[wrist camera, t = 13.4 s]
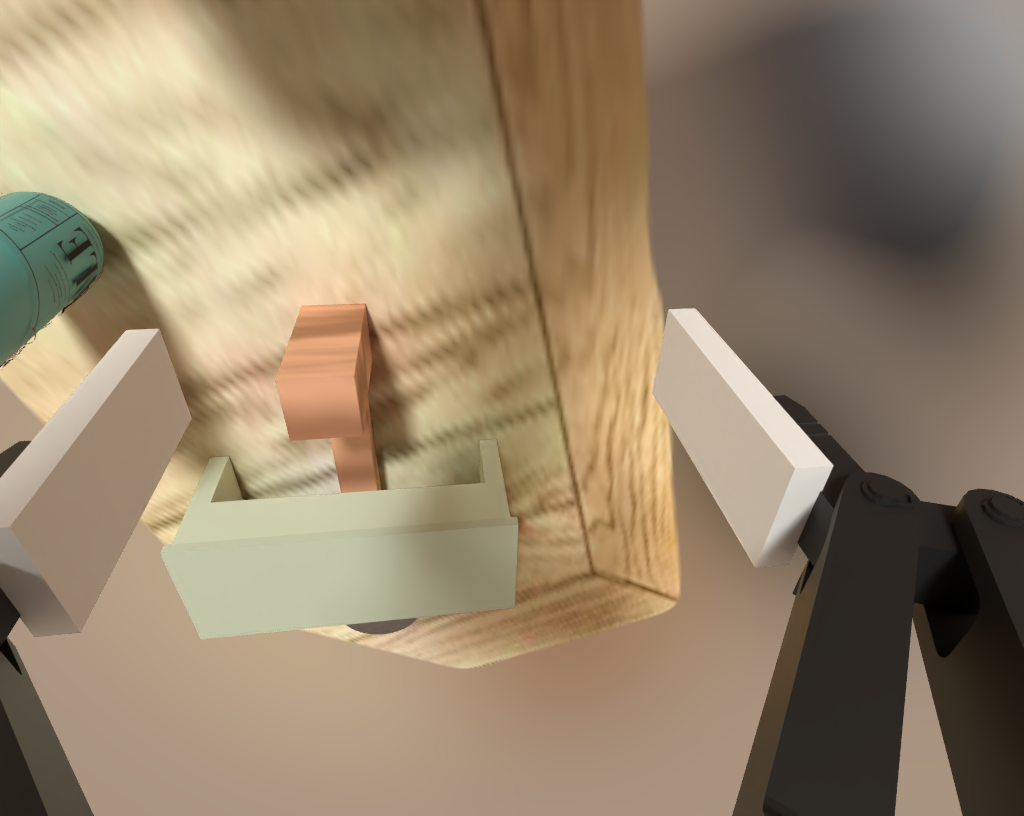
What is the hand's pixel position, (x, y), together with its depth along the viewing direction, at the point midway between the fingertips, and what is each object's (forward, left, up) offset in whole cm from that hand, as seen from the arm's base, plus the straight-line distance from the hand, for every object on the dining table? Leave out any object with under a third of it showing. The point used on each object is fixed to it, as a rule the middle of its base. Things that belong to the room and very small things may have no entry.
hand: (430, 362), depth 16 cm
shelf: (+29, -7, -27) cm, 40 cm away
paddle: (+22, -7, -27) cm, 35 cm away
